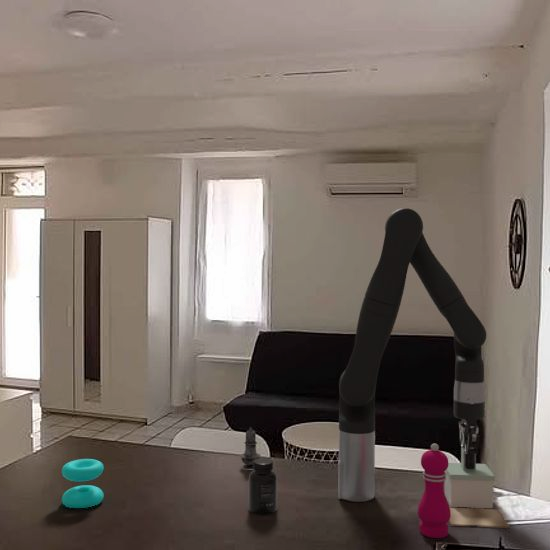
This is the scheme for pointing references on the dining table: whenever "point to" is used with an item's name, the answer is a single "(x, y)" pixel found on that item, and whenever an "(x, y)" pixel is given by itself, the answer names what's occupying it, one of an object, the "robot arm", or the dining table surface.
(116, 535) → the dining table surface
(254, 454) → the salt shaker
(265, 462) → the supplement bottle
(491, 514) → the cork mat
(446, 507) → the pepper mill
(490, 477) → the lid
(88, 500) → the donuts
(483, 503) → the storage box
